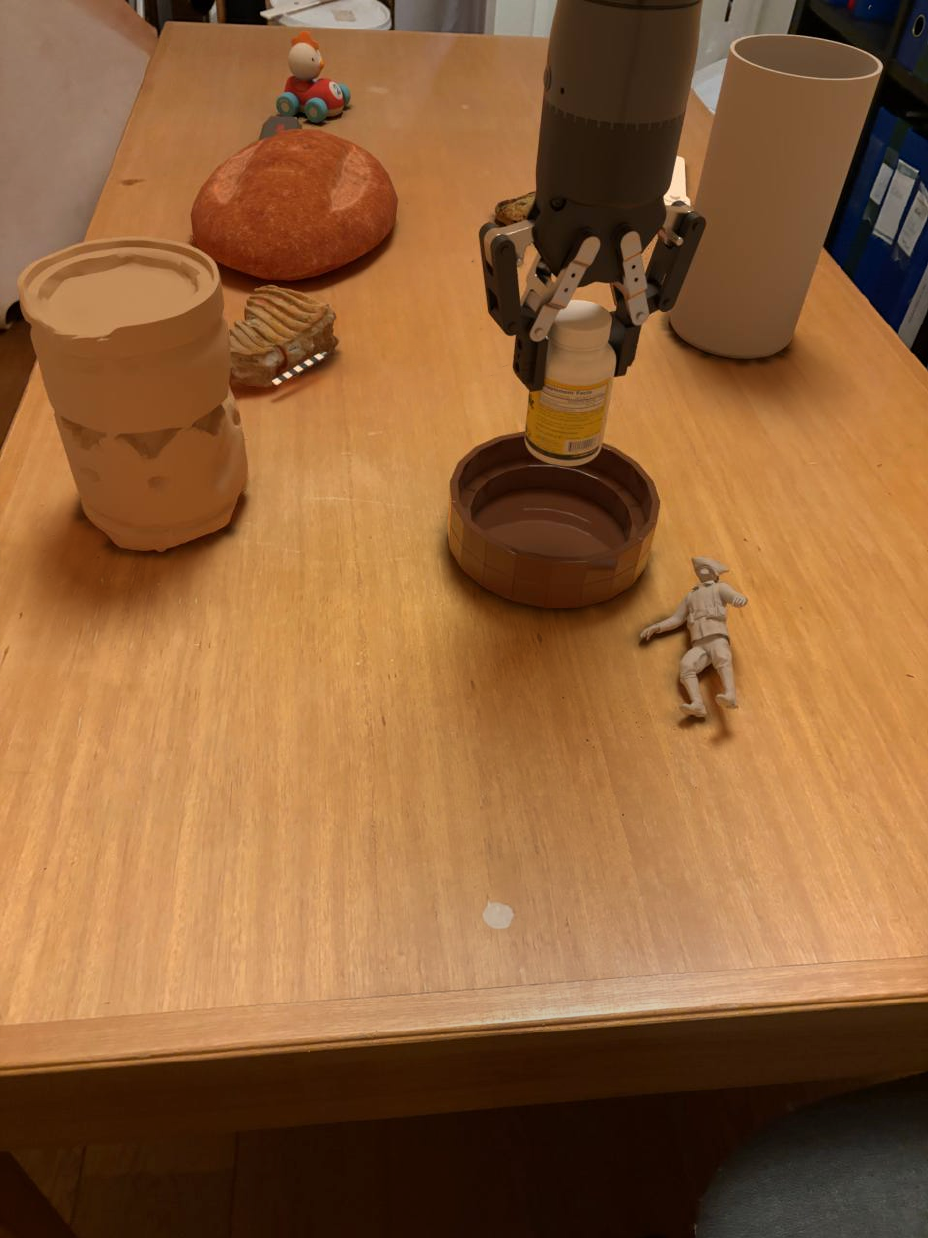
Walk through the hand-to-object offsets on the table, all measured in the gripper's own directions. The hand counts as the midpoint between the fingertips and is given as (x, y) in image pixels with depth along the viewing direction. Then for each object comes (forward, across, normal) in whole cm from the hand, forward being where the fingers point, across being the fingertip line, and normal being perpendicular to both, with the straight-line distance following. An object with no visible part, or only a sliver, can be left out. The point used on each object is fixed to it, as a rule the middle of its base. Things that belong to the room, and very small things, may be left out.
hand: (572, 376), depth 61 cm
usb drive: (+14, 0, +83) cm, 84 cm away
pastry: (+15, +27, +52) cm, 60 cm away
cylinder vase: (+15, +32, +24) cm, 43 cm away
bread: (+15, -4, +59) cm, 61 cm away
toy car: (+14, +8, +96) cm, 98 cm away
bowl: (+15, 0, 0) cm, 15 cm away
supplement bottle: (+6, 0, 0) cm, 6 cm away
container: (+15, -26, +14) cm, 33 cm away
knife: (+14, +44, +55) cm, 72 cm away
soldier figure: (+15, +5, -14) cm, 21 cm away
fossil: (+15, -13, +30) cm, 36 cm away
